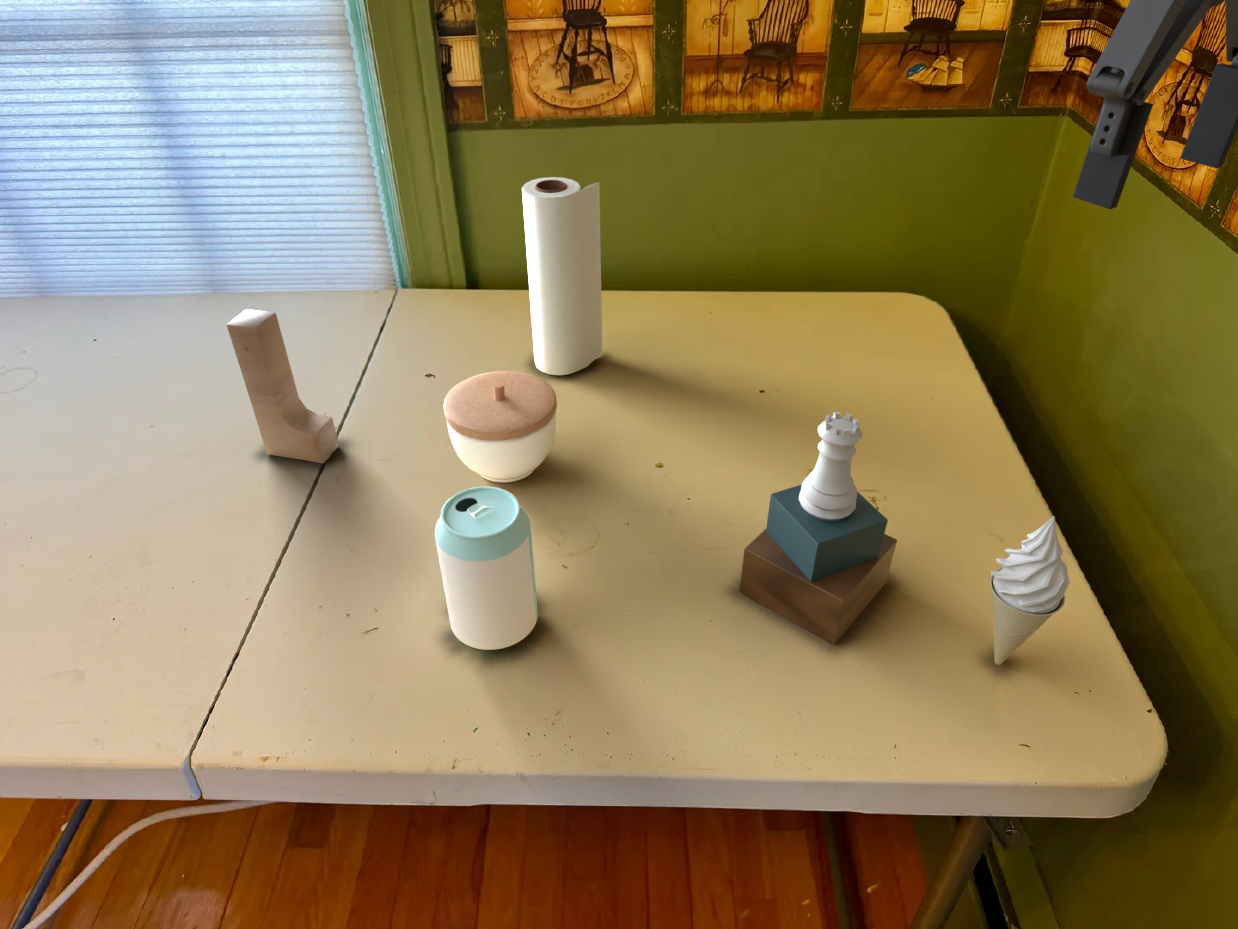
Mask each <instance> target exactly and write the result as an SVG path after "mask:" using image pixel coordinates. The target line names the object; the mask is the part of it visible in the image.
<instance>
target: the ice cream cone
mask: <svg viewBox="0 0 1238 929" xmlns="http://www.w3.org/2000/svg"><path fill="white" fill-rule="evenodd" d="M1026 537H1027V538H1025V539H1023V540H1021V542H1020V543H1021V548H1020V549H1016V548H1015V547H1008V548H1005V549H1004V552H1005V553H1006V554H1008V555H1009V556H1008V557H1007V558H1000V557H997V558H996V559H995V562H996V563H997V564H998V565H1000V566H1001V567H999V568H997V569H996V570H991V572H990V574H991V576H990V579H989V582H990V588H991V595H992V596H991V597H992V629H993V653H994V654H993V656H994V659H993V660H994V663H995V665H997V666H1000V665H1002V664H1003V663H1004V662H1005V661H1006V660H1007V659H1009V657H1010V656H1011V655H1012V654H1013V653H1015V652H1016V650H1018V649H1019V648H1020V647H1021V646H1022V645H1023V644H1024V643H1025V642H1026V641H1027V640H1028V639H1029V638H1030V637H1031V636H1032V635H1033V634H1034V633H1036V632H1037V630H1038V629H1040V628H1041V627H1042V626H1043V625H1044V624H1045V623H1046V622H1047V620H1049V619H1050V618H1051V617H1052V616H1053V615H1054V614H1056V613H1058V612H1059V611H1060V610H1061V609H1062V608H1063V607H1064V606H1065V603H1066V595H1065V594H1066V592H1067V589H1068V587H1069V585H1070V584H1071V583H1070V582H1071V580H1070V577H1069V571H1068V567H1067V564H1066V563H1065V561H1064V560H1063V559H1062V558H1061V557H1062V556H1063V554H1064V551H1063V550H1064V549H1063V548H1062V546H1061V543H1060V541H1059V539H1058V533H1057V527H1056V517H1055V516H1054V515H1053V516H1051V518H1049V520H1047V521H1046V522H1045V523H1044V524H1043V525H1041V526H1040V527H1039V528H1038V529H1036V530H1035V531H1033V532H1030V533H1028V534H1027V535H1026Z"/></svg>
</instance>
